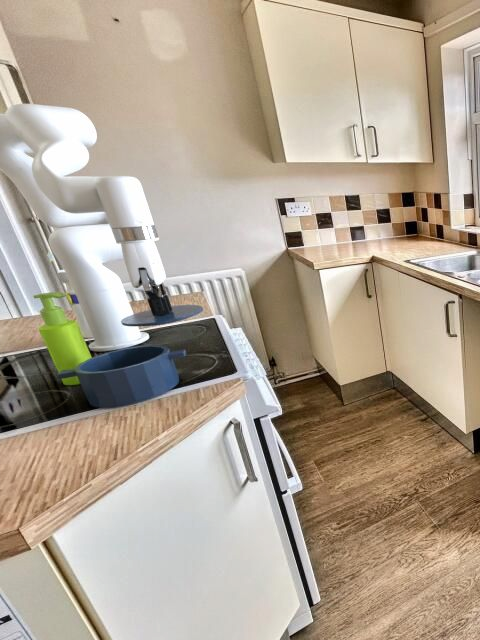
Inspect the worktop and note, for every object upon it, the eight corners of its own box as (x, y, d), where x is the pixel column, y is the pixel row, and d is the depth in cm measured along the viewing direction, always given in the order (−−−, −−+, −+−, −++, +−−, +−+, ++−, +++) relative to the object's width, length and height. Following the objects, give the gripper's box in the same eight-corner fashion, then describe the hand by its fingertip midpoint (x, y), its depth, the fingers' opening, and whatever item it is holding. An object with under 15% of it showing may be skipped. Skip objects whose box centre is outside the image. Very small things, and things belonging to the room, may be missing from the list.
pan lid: (132, 316, 104) (123, 294, 102) (207, 305, 111) (200, 284, 109) (114, 333, 92) (104, 308, 90) (200, 320, 98) (192, 297, 96)
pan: (85, 388, 91) (71, 356, 88) (197, 367, 100) (188, 338, 97) (59, 419, 79) (42, 383, 76) (189, 392, 88) (177, 359, 85)
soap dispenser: (86, 384, 92) (47, 296, 85) (55, 385, 93) (14, 297, 85) (110, 373, 98) (76, 289, 91) (81, 374, 98) (44, 290, 91)
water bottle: (82, 340, 120) (44, 252, 111) (79, 334, 126) (43, 249, 116) (120, 333, 126) (87, 248, 117) (116, 327, 131) (84, 246, 122)
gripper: (124, 233, 99) (150, 308, 106) (103, 240, 86) (135, 325, 93) (163, 230, 103) (187, 303, 109) (149, 236, 89) (176, 319, 96)
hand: (163, 312), depth 101 cm, fingers closed on pan lid, 2 cm apart
